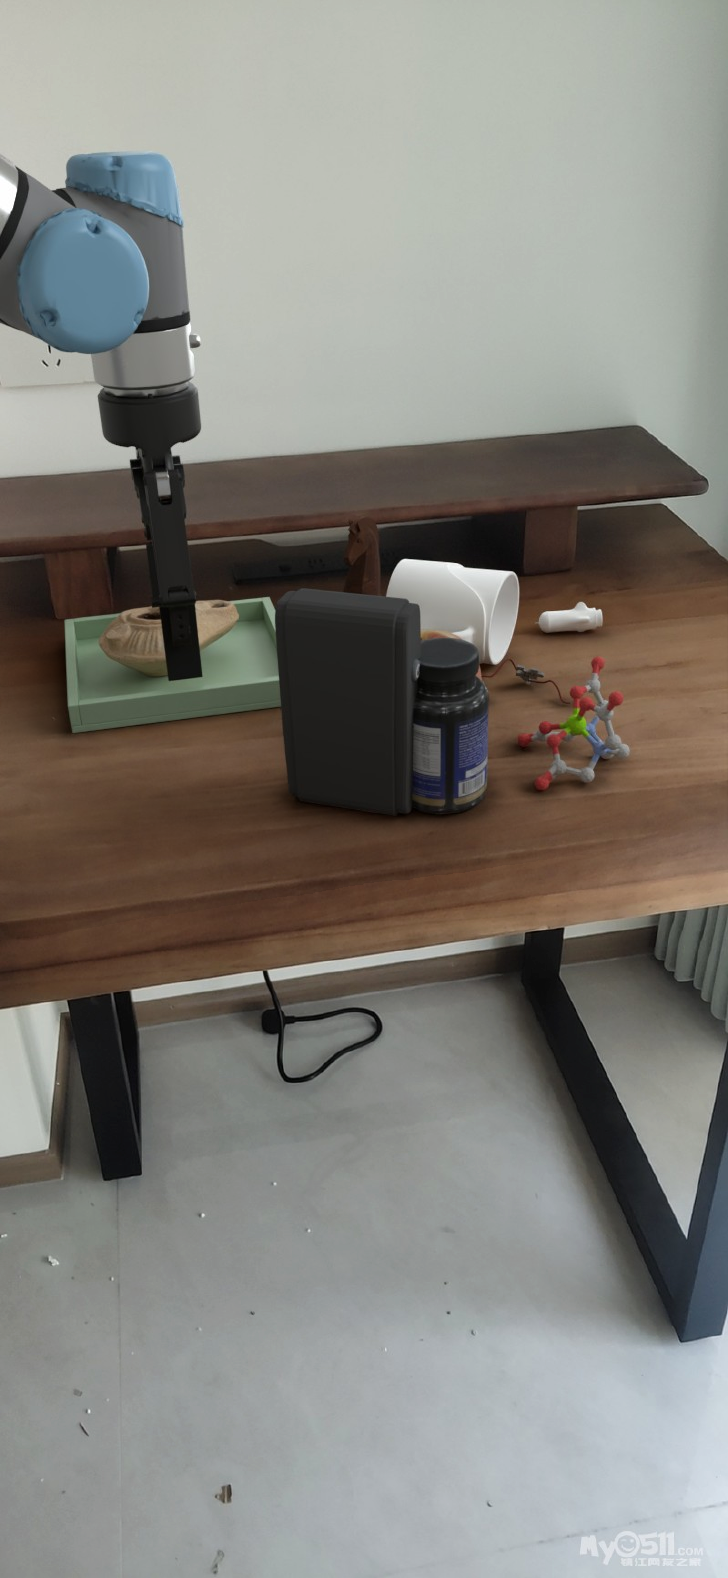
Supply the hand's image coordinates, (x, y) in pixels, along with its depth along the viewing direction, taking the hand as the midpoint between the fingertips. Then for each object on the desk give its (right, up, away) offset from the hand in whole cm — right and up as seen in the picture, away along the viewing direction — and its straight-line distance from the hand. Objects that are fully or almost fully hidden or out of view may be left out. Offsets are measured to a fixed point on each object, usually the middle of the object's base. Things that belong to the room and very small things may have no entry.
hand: (177, 643), depth 100 cm
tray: (0, -2, +1) cm, 3 cm away
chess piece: (+16, +3, +10) cm, 19 cm away
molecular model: (+31, -11, -13) cm, 35 cm away
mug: (+23, -1, +2) cm, 23 cm away
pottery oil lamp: (0, -2, +2) cm, 2 cm away
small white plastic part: (+34, +2, +7) cm, 35 cm away
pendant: (+29, -4, -5) cm, 29 cm away
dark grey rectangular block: (+15, -13, -17) cm, 26 cm away
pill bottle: (+21, -13, -17) cm, 30 cm away
